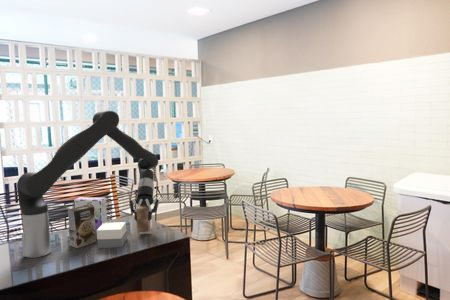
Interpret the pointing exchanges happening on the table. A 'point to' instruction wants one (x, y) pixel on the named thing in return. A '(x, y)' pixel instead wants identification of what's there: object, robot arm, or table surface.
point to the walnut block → (143, 219)
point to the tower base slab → (112, 242)
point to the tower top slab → (111, 230)
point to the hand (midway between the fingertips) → (142, 220)
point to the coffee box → (81, 226)
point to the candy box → (98, 206)
